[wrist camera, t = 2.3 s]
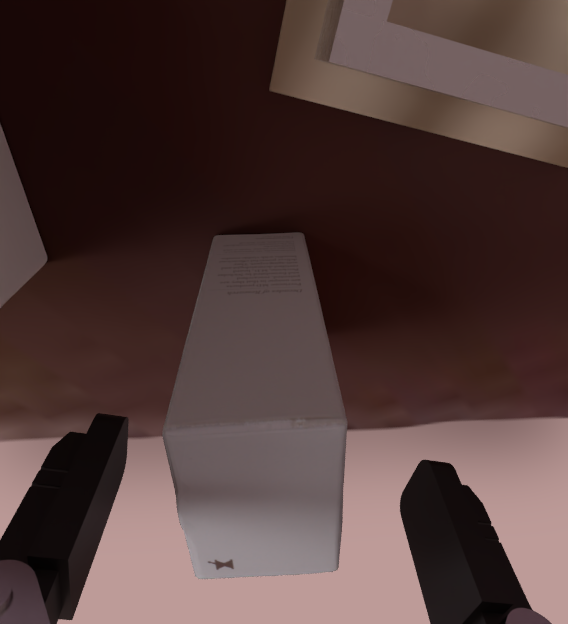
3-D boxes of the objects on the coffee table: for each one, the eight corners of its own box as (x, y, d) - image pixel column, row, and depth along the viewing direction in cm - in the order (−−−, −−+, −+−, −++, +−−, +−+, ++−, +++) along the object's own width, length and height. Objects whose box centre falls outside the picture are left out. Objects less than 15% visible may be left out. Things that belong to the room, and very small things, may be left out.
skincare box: (306, 338, 22) (340, 577, 12) (224, 341, 22) (190, 585, 12) (306, 226, 19) (354, 424, 9) (211, 229, 19) (151, 433, 9)
